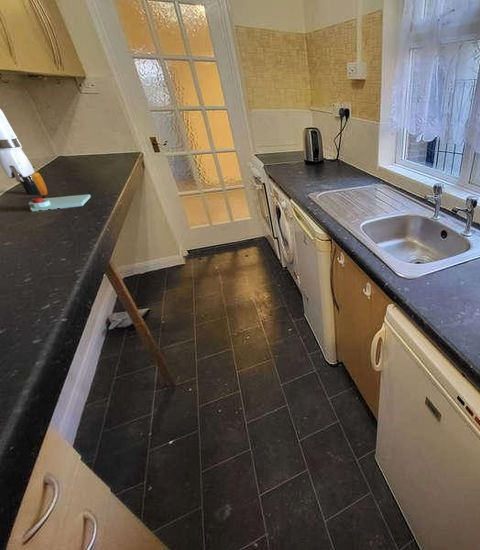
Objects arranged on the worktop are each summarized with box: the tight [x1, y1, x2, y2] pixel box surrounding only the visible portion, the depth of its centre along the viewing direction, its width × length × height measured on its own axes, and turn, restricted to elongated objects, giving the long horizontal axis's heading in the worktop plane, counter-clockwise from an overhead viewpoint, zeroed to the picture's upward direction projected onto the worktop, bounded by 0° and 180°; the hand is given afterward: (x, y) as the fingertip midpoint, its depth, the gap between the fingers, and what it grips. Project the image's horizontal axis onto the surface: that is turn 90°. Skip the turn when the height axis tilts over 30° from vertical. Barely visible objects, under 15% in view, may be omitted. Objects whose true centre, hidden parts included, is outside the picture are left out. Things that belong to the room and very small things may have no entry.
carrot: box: [31, 163, 48, 199], centre depth 128 cm, size 5×5×15 cm
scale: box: [27, 194, 92, 212], centre depth 125 cm, size 16×14×3 cm
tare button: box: [31, 197, 44, 203], centre depth 119 cm, size 3×3×2 cm
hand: (34, 194), depth 118 cm, fingers closed
